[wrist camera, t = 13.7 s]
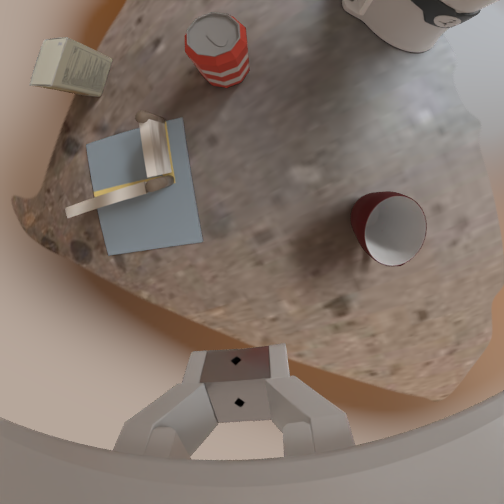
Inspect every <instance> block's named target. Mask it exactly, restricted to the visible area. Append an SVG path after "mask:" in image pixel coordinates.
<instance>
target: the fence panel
mask: <svg viewBox="0 0 504 504" xmlns="http://www.w3.org/2000/svg"><path fill="white" fill-rule="evenodd" d="M146 183H147V182H145V181H144V182H141V183H138V184H134V185H131V186H128V187H125V188H122V189H118V190H115V191H112V192H109V193H106V194H103V195H100V196H97V197H94V198H91V199H89V200H86V201H83V202H80V203H77V204H75V205H72V206H69V207H67V208H65V211H66V215H67V218H71V217H73V216H76V215H79V214H82V213H85V212H88V211H91V210H94V209H97V208H100V207H104V206H107V205H110V204H113V203H116V202H120V201H123V200H126V199H130V198H133V197H136V196H140V195H143V194H147V193H148V192H149V191H148V190H147V189H146Z"/></svg>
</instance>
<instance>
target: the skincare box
mask: <svg viewBox="0 0 504 504" xmlns="http://www.w3.org/2000/svg"><path fill="white" fill-rule="evenodd" d="M111 63H112V59H111V58H109V57H107V56H105V55H103V54H101V53H99V52H97V51H95V50H93V49H91V48H89V47H87V46H85V45H83V44H81V43H79V42H76V41H74V40H72V39H70V38H68V37H67V38H66V37H65V38H53V39H46V40H44V42H43V44H42V46H41V49H40V52H39V55H38V57H37V60H36V64H35V67H34V70H33V73H32V77H31V81H30V86H37V87H43V88H48V89H54V90H59V91H64V92H69V93H74V94H79V95H86V96H94V97H100V96H101V94H102V91H103V88H104V85H105V82H106V78H107V75H108V72H109V69H110V66H111Z"/></svg>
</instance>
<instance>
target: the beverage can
mask: <svg viewBox="0 0 504 504" xmlns="http://www.w3.org/2000/svg"><path fill="white" fill-rule="evenodd" d="M185 52H186V54H187V55H188V56H189V58H190V59H191V60H192V62H193V63H194V65H195V66H196V67H197V69H198V70H199V72H200V73H201V74H202V76H203V77H204V78H205V79H206V80H207V81H208V82H209V83H210V84H211V85H213V86H219V87H224V88H228V87H230V86H233V85H236V84H238V83H241V82H242V81H243V79H244V78H245V76H246V75H247V73H248V72H249V71H250V69H249V57H248V47H247V36H246V28H245V27H244V26H243V25H242V24H241V23H240V22H238V21H237V20H236V19H235V18H234V17H232V16H230V15H229V14H225V13H217V12H210V13H208V14H205V15H203V16H200V17H198V18H196V19H195V20H194V21H193V23H192V24H191V25H190V27H189V28H188V29H187V33H186V35H185Z"/></svg>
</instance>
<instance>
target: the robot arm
mask: <svg viewBox="0 0 504 504" xmlns="http://www.w3.org/2000/svg"><path fill="white" fill-rule="evenodd" d="M352 1H353V2H352ZM352 1H350V0H342V6H343V8H344V10H345V11H347V12H348V13H350V14H351V15H353V16H355V17H357V18H359V19H360V20H362V21H363V22H364V23H365V24H366V25H367V26H368V27H369V28H370V29H371V30H372V31H373V32H374V33H375V34H376V35H378V36H379V37H380V38H381V39H383V40H384V41H386V42H387V43H389V44H391V45H392V46H394V47H397V48H399V49H402V50H405V51H409V52H424V51H427V50H429V49H431V48H432V47H433V46H434V45H435V43H436V42H437V40H438V39H439V38H440V36H441V35H442V34H443V33H444V32H445V31H446V30H447V29H448V28H450V27H453V26H456V25H458V24H461V23H463V22H465V21H467V20H469V19H470V18H472V17H474V16H476V15H477V14H478V13H479V12H480V10H481V9H482V8H484V7H486V6H488V5H490V4H492V3H494V2H497V1H499V0H352ZM260 420H272V422H273V423H274V424H275V425H276V426H277V427H278V429H279V430H280V431H281V432H282V433H283V443H284V457H280V458H267V459H251V460H191V458H190V456H191V455H192V454H193V453H194V452H195V451H196V450H197V448H198V447H199V446H200V445H201V444H202V443H203V441H204V440H205V439H206V438H207V437H208V436H209V434H210V433H211V432H212V431H213V429H214V428H215V427H216V426H217V425H218V423H224V422H240V421H260ZM0 504H504V390H503V391H502V392H500V393H498V394H496V395H494V396H492V397H490V398H488V399H486V400H484V401H482V402H480V403H478V404H476V405H474V406H472V407H469V408H467V409H465V410H463V411H461V412H458V413H456V414H453V415H451V416H449V417H446V418H444V419H441V420H439V421H436V422H433V423H431V424H428V425H425V426H422V427H419V428H416V429H414V430H411V431H408V432H404V433H401V434H398V435H394V436H391V437H387V438H384V439H380V440H376V441H372V442H368V443H364V444H360V445H355V443H354V439H353V436H352V432H351V429H350V425H349V422H348V418H347V415H346V413H345V412H343V411H342V410H341V409H339V408H338V407H336V406H335V405H334V404H332V403H331V402H329V401H328V400H327V399H325V398H324V397H322V396H321V395H320V394H318V393H317V392H316V391H314V390H313V389H311V388H310V387H309V386H308V385H306V384H305V383H304V382H302V381H301V380H299V379H298V378H297V377H296V376H290V374H289V366H288V359H287V351H286V344H285V343H282V344H275V345H269V346H264V347H255V348H246V349H229V350H210V351H194V352H192V353H191V355H190V358H189V361H188V364H187V368H186V371H185V374H184V377H183V381H182V384H176V385H175V386H174V387H172V388H171V389H170V390H168V391H167V392H166V393H165V394H163V395H162V396H160V397H159V398H158V399H157V400H155V401H154V402H152V403H151V404H150V405H148V406H147V407H146V408H144V409H143V410H142V411H140V412H139V413H137V414H136V415H135V416H133V417H132V418H130V419H129V420H128V421H126V422H125V423H124V426H123V428H122V430H121V432H120V435H119V437H118V439H117V442H116V444H115V447H114V449H113V451H111V450H107V449H101V448H97V447H92V446H88V445H84V444H79V443H75V442H72V441H68V440H64V439H60V438H57V437H53V436H50V435H47V434H44V433H41V432H38V431H35V430H32V429H29V428H26V427H24V426H21V425H18V424H16V423H13V422H11V421H8V420H6V419H3V418H1V417H0Z"/></svg>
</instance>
